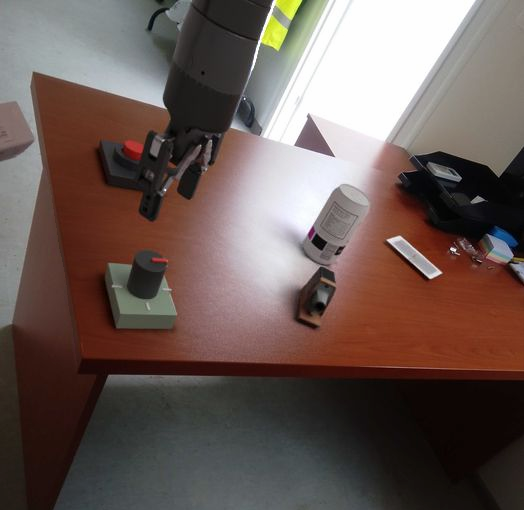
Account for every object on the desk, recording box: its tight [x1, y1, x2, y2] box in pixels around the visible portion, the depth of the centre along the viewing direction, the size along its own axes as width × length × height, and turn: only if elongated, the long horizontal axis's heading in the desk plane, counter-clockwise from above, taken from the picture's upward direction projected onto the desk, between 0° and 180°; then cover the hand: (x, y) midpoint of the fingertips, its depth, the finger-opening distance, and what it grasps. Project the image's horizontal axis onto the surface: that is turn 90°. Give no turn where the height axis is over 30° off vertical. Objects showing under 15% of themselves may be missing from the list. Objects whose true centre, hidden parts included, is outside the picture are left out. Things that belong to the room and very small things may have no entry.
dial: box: [127, 249, 168, 299], centre depth 63 cm, size 4×4×6 cm
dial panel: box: [104, 262, 178, 330], centre depth 66 cm, size 10×9×3 cm
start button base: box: [98, 138, 164, 192], centre depth 88 cm, size 12×10×4 cm
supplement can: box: [302, 183, 372, 266], centre depth 94 cm, size 8×8×15 cm
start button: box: [123, 139, 144, 160], centre depth 86 cm, size 4×4×2 cm
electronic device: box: [296, 265, 337, 329], centre depth 81 cm, size 4×10×8 cm, turn 174°
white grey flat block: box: [386, 235, 443, 280], centre depth 116 cm, size 8×15×2 cm, turn 46°
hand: (166, 205), depth 56 cm, fingers open, 8 cm apart
